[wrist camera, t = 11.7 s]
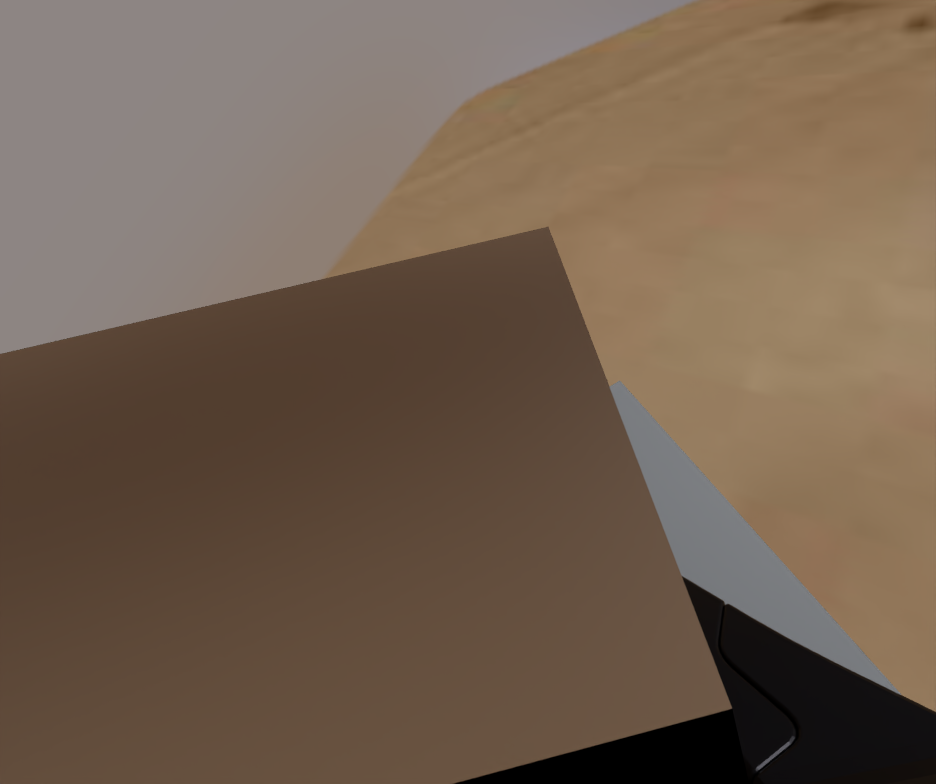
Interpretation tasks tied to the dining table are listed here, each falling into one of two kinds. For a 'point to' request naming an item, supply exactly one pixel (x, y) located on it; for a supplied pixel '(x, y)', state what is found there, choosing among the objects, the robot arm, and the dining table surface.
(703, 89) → the dining table surface
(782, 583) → the slate board
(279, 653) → the walnut peg
